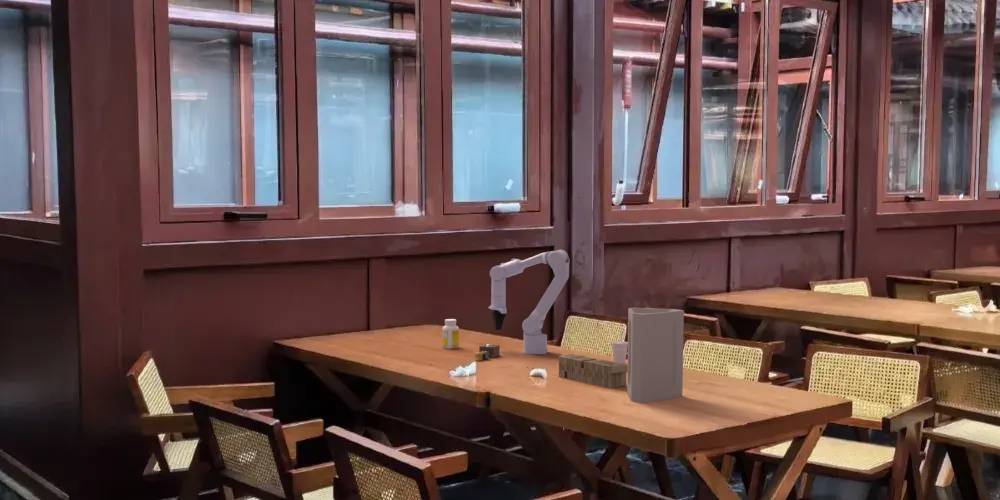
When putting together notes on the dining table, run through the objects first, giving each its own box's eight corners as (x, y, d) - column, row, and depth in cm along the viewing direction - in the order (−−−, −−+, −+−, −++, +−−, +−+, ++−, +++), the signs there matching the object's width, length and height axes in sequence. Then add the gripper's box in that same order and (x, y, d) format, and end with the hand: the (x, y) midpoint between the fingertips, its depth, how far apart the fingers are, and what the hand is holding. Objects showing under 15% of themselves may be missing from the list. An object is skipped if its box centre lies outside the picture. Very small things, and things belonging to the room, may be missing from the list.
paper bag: (650, 389, 356) (652, 306, 355) (683, 396, 344) (685, 310, 343) (608, 395, 345) (609, 309, 343) (641, 403, 333) (642, 314, 331)
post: (492, 359, 414) (492, 344, 414) (492, 360, 412) (492, 345, 411) (486, 359, 414) (486, 344, 414) (486, 360, 412) (486, 345, 411)
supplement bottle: (459, 349, 437) (459, 318, 436) (457, 352, 430) (457, 320, 429) (443, 349, 437) (443, 318, 436) (441, 352, 431) (441, 320, 430)
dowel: (488, 360, 405) (488, 351, 405) (488, 361, 403) (488, 352, 403) (484, 360, 405) (484, 351, 405) (483, 361, 404) (483, 351, 403)
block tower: (556, 379, 379) (612, 389, 356) (555, 355, 379) (612, 364, 356) (572, 376, 384) (629, 386, 361) (572, 353, 384) (629, 362, 361)
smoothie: (627, 370, 392) (627, 332, 391) (609, 369, 394) (610, 331, 393) (628, 367, 399) (629, 330, 398) (611, 366, 400) (612, 329, 399)
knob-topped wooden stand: (485, 354, 417) (485, 344, 416) (499, 355, 414) (499, 345, 414) (469, 360, 402) (469, 349, 402) (484, 361, 400) (484, 350, 400)
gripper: (483, 294, 431) (483, 327, 432) (494, 297, 417) (494, 332, 418) (500, 293, 433) (499, 326, 434) (511, 297, 419) (511, 331, 420)
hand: (498, 329), depth 426 cm, fingers closed
